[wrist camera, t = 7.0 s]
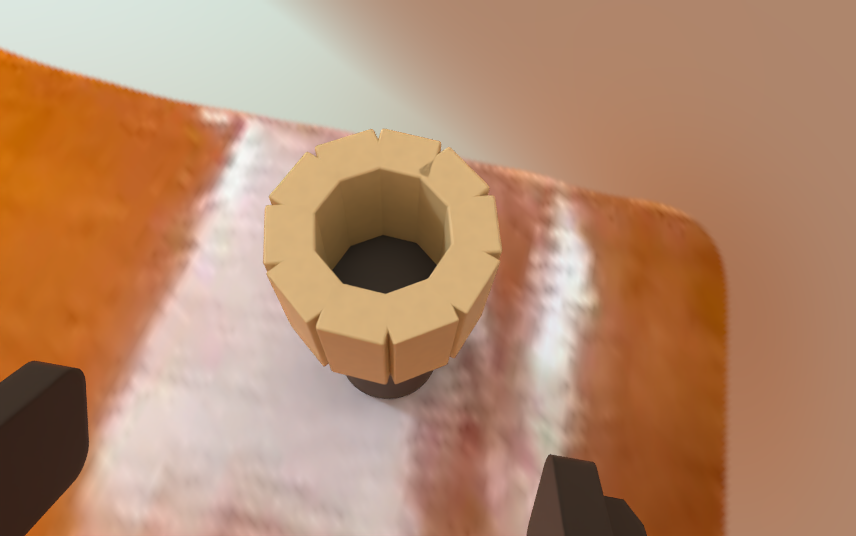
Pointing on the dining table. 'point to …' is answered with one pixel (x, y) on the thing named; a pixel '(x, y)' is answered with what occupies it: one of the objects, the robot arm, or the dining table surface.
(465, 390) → the dining table surface
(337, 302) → the beige thick ring
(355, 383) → the cylinder
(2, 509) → the robot arm
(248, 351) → the dining table surface
